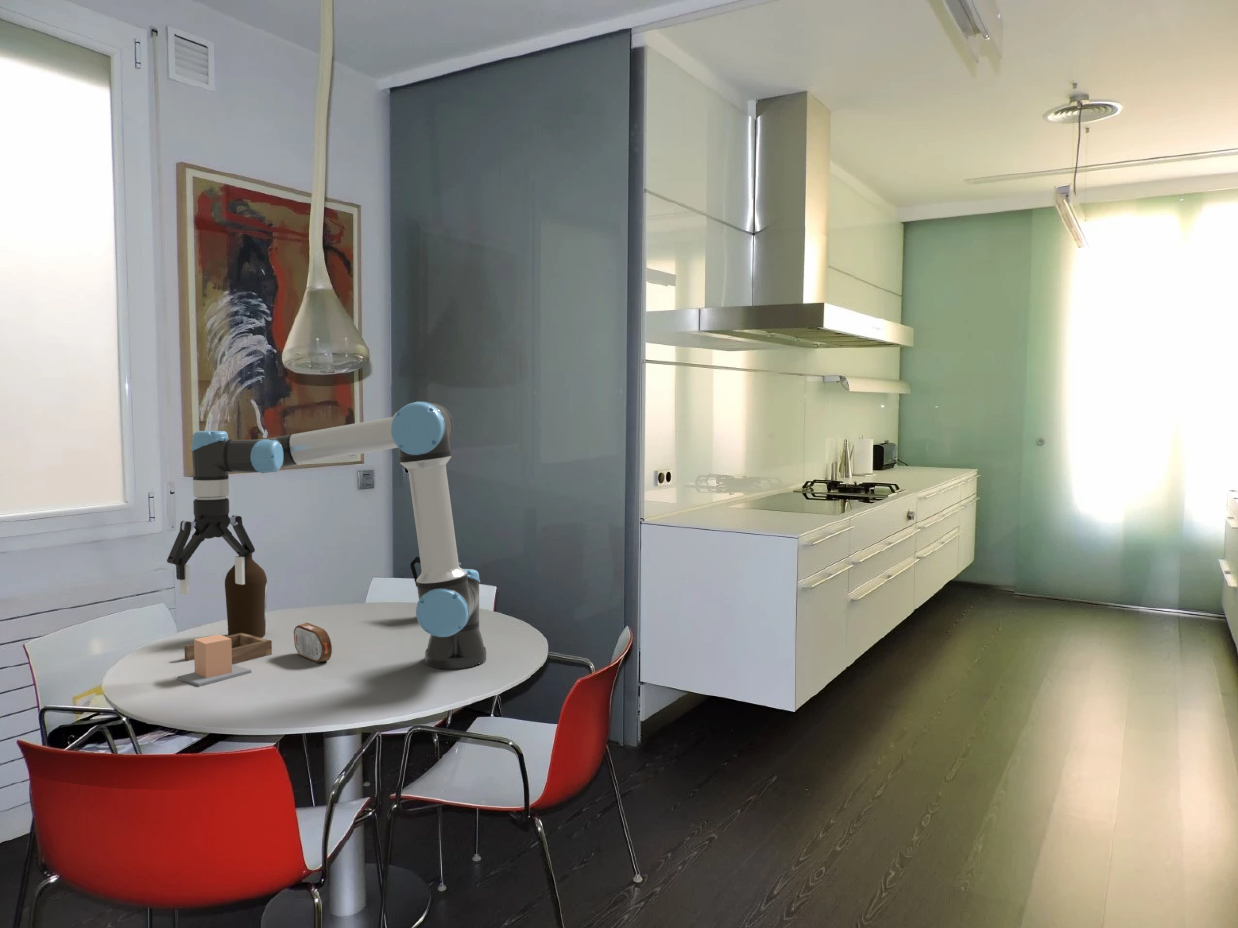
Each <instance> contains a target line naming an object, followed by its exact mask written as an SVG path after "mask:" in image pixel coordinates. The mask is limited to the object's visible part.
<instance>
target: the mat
mask: <svg viewBox="0 0 1238 928" xmlns="http://www.w3.org/2000/svg"><path fill="white" fill-rule="evenodd" d="M251 673H252V669H249V668H246V667H244V666H240V665H237V664H232V673H227V674H223V675H218V676H214V677H210V678H205V677H203V676H200V675H198V674H196V673H195V671H194V672H191V673H186V674H181V675H178V676H177V677H176V680H178V679H179V681H182V682H185V683H188V684H191V685H194V686H196V687H201V686H202V687H203V686H206V685H210V684H213V683H216V682H221V681H224V680H223V679H225V680H228V679H232V678H236V677H239V676H242V675H247V674H251ZM227 678H228V679H227Z"/></svg>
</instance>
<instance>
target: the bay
mask: <svg viewBox="0 0 1238 928" xmlns="http://www.w3.org/2000/svg"><path fill="white" fill-rule="evenodd" d="M224 636H225V637H228V638H230V639H231V644H232V664H233V665H236V664H239V663H243V662H247V661H250V660H254V659H258V658H262V657H266V655H267V656H270V655H272V654H273V648H272V645H273V644H272V643H273V641H272V640H270V639H266V638H263V637H261V638H260V637H256V636H252V635H248V634H244V633H238V634H234V635H230V636H228V635H224ZM183 648H184V660H185V661H187V662H188V661H192V660H194V643H190V644H186V645H184V647H183Z"/></svg>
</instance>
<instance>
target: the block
mask: <svg viewBox="0 0 1238 928" xmlns="http://www.w3.org/2000/svg"><path fill="white" fill-rule="evenodd" d="M225 636H226V635H223V634H220V633H219V634H214V635H208V636H204V637H203V636H202V637H200V638H199V637H198V638H194V639H193V644H194V659H193V660H194V672H195V673H196V674H198V675H200V676H203V677H205V678H210V677H214V676H218V675H223V674H227V673H232V644H231V639H230V638H228V637H225Z"/></svg>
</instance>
